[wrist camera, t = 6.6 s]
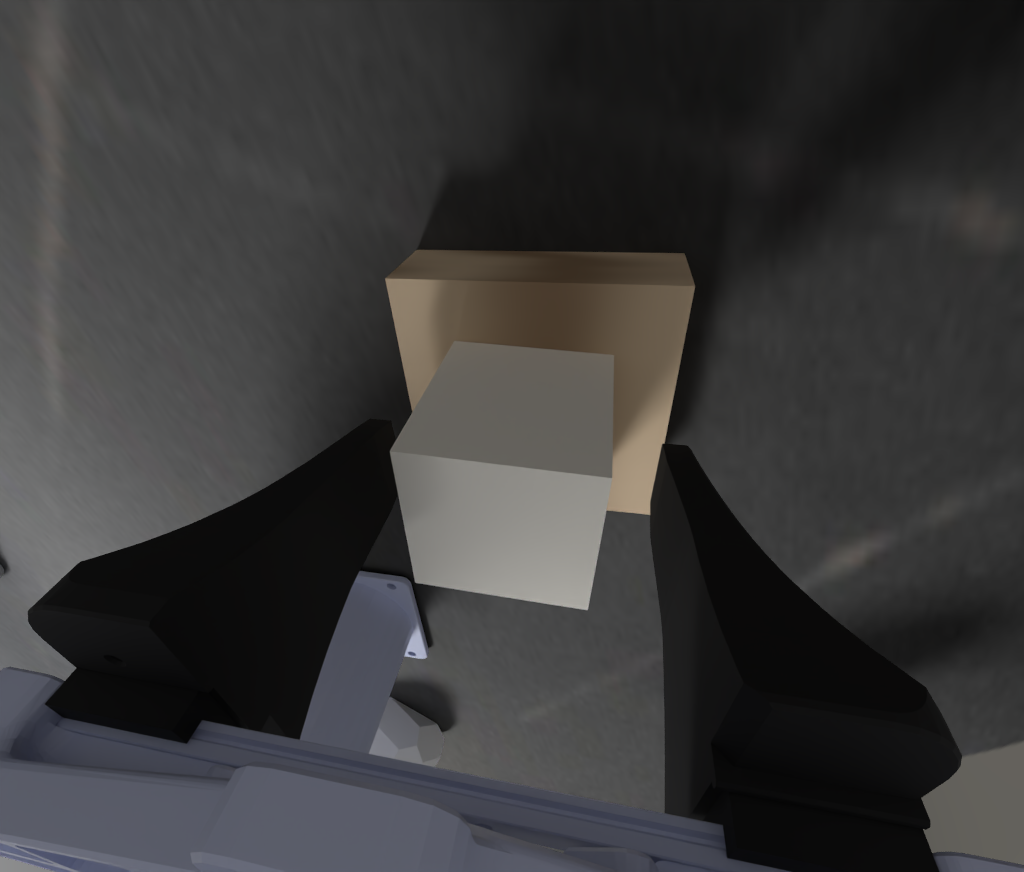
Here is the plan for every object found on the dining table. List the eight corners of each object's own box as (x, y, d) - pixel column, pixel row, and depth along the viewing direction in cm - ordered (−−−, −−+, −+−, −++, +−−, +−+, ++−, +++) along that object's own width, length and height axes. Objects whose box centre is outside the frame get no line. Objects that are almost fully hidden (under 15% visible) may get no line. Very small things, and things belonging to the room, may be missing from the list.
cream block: (462, 459, 16) (415, 582, 13) (454, 340, 14) (389, 451, 10) (595, 476, 16) (587, 610, 12) (614, 355, 13) (612, 478, 9)
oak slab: (450, 442, 20) (428, 491, 18) (421, 245, 15) (384, 278, 13) (647, 458, 19) (650, 514, 16) (683, 248, 14) (695, 286, 12)
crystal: (346, 727, 31) (212, 768, 44) (400, 830, 31) (248, 841, 43) (421, 659, 38) (285, 713, 50) (467, 743, 37) (317, 776, 50)
